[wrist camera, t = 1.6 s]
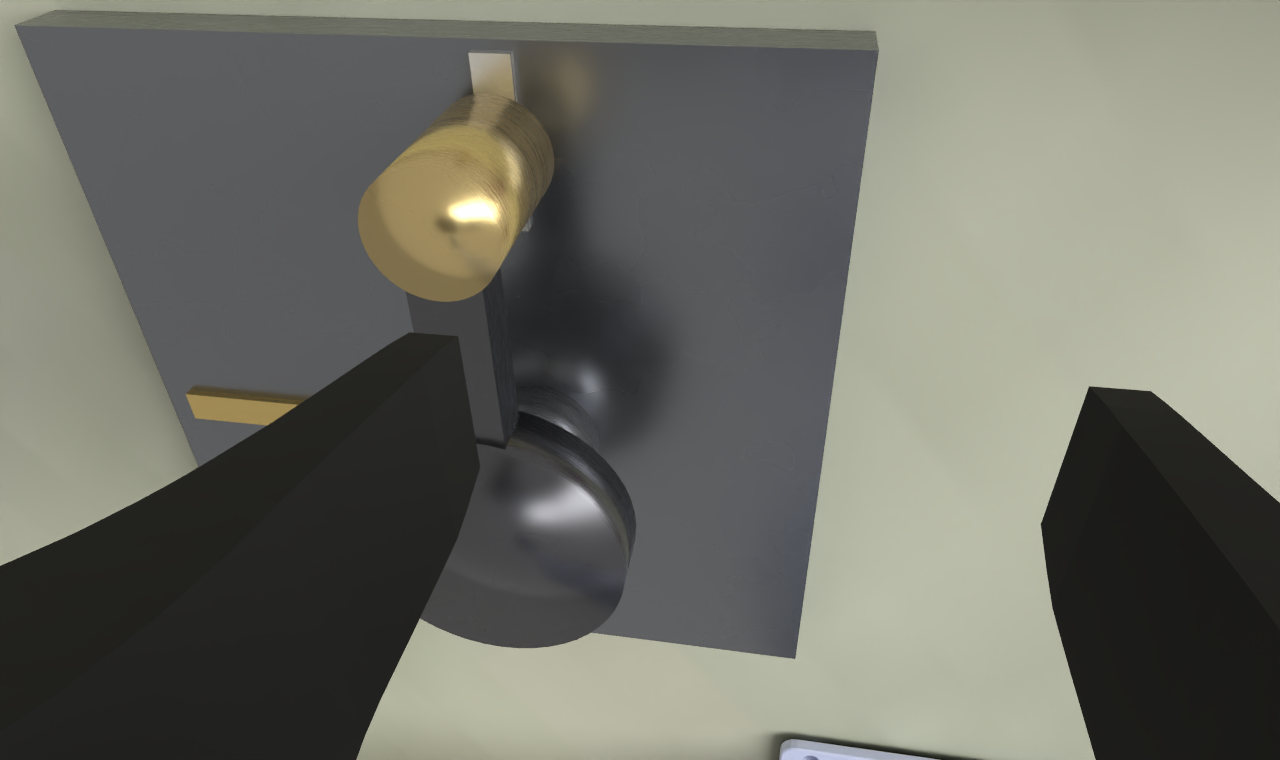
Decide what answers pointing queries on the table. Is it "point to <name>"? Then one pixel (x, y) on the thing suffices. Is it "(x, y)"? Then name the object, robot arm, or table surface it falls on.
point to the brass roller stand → (498, 385)
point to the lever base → (534, 267)
